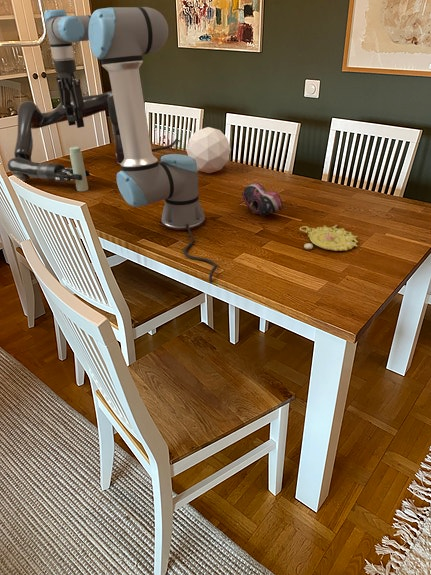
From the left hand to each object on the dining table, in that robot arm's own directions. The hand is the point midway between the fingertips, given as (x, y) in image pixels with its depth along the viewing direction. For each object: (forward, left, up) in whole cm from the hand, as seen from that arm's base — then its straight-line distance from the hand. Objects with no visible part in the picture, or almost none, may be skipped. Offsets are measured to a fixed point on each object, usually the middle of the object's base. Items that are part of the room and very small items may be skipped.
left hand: (85, 175), depth 183 cm
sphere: (-36, +41, -6) cm, 55 cm away
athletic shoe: (+3, +74, -6) cm, 75 cm away
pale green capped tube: (0, -3, -6) cm, 7 cm away
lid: (-1, 0, +24) cm, 24 cm away
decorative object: (+19, +102, -6) cm, 104 cm away
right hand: (-1, 0, +20) cm, 20 cm away
